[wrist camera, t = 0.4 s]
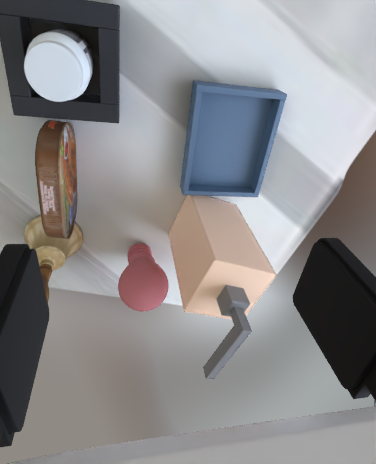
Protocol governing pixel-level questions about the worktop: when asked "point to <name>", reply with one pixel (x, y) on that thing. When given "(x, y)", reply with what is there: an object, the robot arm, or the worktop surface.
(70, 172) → the tin
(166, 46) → the worktop surface
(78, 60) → the pill bottle
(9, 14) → the socket base
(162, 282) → the light bulb
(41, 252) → the hand bell
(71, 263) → the worktop surface
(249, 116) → the tray
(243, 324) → the soap dispenser
